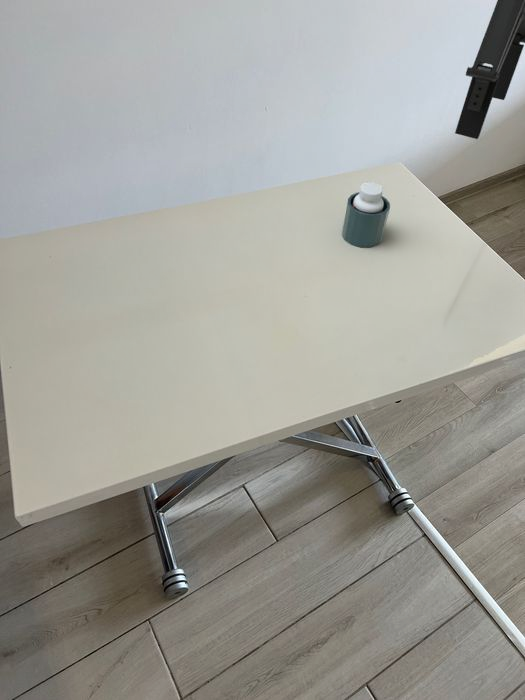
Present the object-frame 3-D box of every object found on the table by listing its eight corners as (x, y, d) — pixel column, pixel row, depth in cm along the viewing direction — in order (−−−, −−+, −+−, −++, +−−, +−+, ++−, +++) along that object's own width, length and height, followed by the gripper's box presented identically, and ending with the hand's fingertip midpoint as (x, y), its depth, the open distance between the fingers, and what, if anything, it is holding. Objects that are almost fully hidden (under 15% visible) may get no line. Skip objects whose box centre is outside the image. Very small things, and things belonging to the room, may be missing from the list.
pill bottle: (342, 227, 101) (351, 181, 94) (368, 223, 103) (378, 178, 95) (354, 244, 98) (364, 198, 91) (380, 240, 99) (392, 194, 92)
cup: (387, 232, 102) (396, 200, 96) (372, 252, 97) (380, 220, 92) (351, 219, 104) (357, 187, 99) (335, 238, 100) (340, 206, 94)
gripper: (539, -120, 60) (477, 77, 76) (484, -94, 45) (421, 145, 61) (610, -113, 58) (531, 89, 73) (577, -83, 43) (486, 163, 58)
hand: (481, 115), depth 67 cm, fingers open, 13 cm apart
